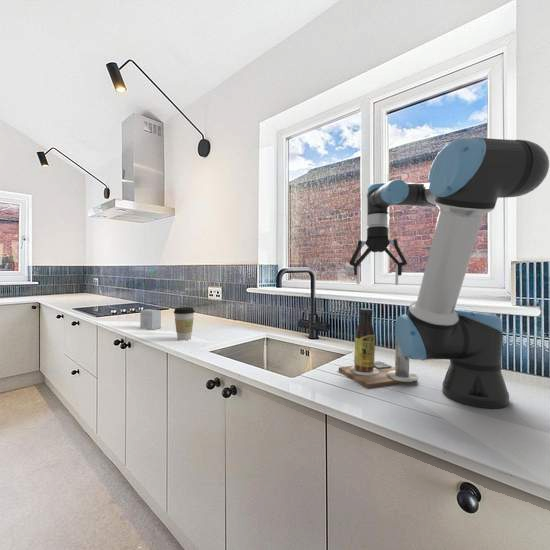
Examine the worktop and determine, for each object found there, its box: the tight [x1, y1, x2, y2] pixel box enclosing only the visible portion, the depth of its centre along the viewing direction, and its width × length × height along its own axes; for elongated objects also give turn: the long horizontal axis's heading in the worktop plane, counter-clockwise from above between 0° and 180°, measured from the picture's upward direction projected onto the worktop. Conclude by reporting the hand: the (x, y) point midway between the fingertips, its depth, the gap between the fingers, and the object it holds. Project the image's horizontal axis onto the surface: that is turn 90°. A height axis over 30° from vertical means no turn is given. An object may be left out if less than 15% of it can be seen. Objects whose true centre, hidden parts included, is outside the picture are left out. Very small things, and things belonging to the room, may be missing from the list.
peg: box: [394, 337, 410, 378], centre depth 95 cm, size 4×4×14 cm
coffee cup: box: [173, 306, 196, 341], centre depth 150 cm, size 10×10×15 cm
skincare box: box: [139, 308, 162, 330], centre depth 178 cm, size 10×6×10 cm, turn 60°
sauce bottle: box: [353, 308, 376, 372], centre depth 100 cm, size 7×6×20 cm
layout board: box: [338, 360, 419, 389], centre depth 98 cm, size 18×18×2 cm
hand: (377, 284), depth 114 cm, fingers open, 13 cm apart
